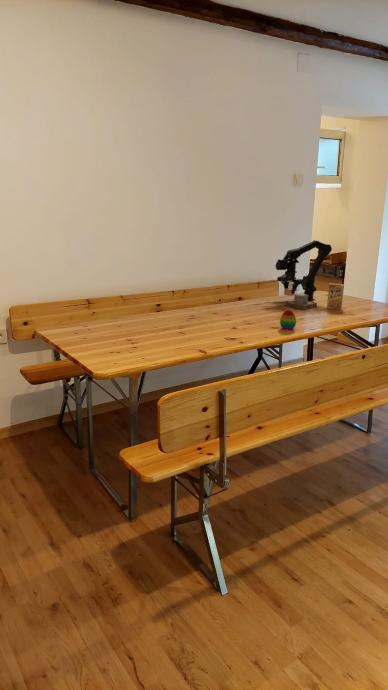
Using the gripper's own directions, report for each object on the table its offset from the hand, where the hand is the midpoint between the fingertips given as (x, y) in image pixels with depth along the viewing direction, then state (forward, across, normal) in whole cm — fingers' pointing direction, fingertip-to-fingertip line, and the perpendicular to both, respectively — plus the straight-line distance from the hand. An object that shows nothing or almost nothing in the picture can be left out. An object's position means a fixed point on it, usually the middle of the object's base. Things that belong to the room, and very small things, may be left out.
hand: (289, 293), depth 337 cm
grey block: (+3, +17, -9) cm, 19 cm away
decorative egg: (+5, +50, -60) cm, 78 cm away
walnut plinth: (+5, +17, -9) cm, 20 cm away
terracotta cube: (+1, 0, 0) cm, 1 cm away
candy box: (+5, +33, +4) cm, 34 cm away
